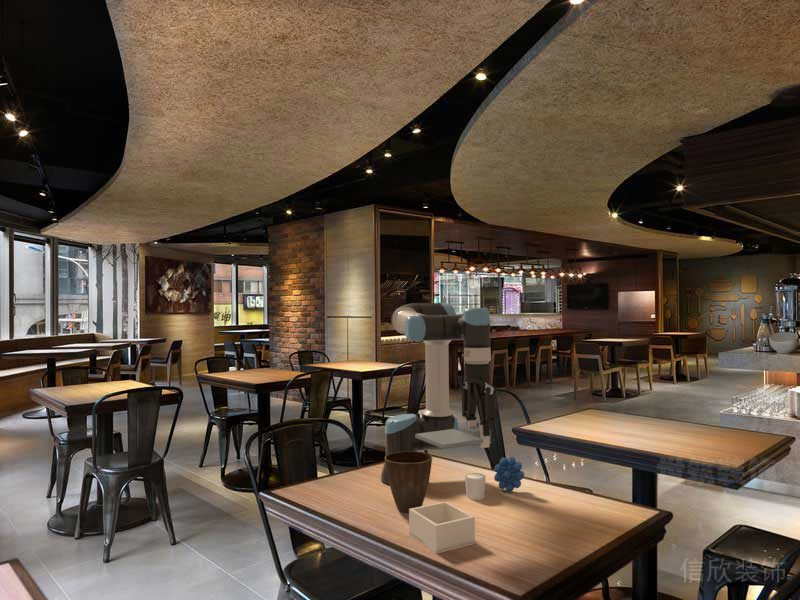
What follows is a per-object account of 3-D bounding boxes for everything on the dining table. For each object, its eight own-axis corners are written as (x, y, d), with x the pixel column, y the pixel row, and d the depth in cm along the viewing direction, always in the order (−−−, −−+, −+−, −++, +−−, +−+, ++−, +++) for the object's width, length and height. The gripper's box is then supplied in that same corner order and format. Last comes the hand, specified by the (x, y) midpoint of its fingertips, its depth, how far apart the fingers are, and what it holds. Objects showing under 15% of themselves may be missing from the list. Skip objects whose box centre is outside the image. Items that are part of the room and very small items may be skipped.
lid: (415, 444, 153) (415, 430, 153) (470, 436, 162) (470, 423, 162) (443, 456, 140) (443, 440, 140) (501, 447, 149) (501, 432, 149)
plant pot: (378, 504, 175) (378, 453, 176) (421, 497, 181) (420, 449, 181) (395, 520, 162) (394, 465, 162) (441, 512, 167) (440, 459, 168)
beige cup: (473, 492, 186) (473, 471, 186) (490, 497, 181) (489, 475, 181) (460, 497, 181) (460, 476, 181) (477, 502, 176) (477, 480, 176)
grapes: (531, 492, 185) (530, 456, 185) (520, 497, 180) (519, 460, 180) (501, 485, 193) (500, 450, 193) (490, 489, 188) (490, 454, 188)
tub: (409, 534, 151) (409, 508, 151) (446, 526, 156) (445, 501, 157) (436, 553, 138) (435, 525, 139) (475, 543, 144) (474, 516, 144)
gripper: (448, 360, 161) (449, 440, 160) (486, 365, 145) (487, 454, 145) (469, 359, 164) (470, 437, 164) (508, 364, 149) (509, 450, 148)
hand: (478, 445), depth 154 cm, fingers closed on lid, 5 cm apart
